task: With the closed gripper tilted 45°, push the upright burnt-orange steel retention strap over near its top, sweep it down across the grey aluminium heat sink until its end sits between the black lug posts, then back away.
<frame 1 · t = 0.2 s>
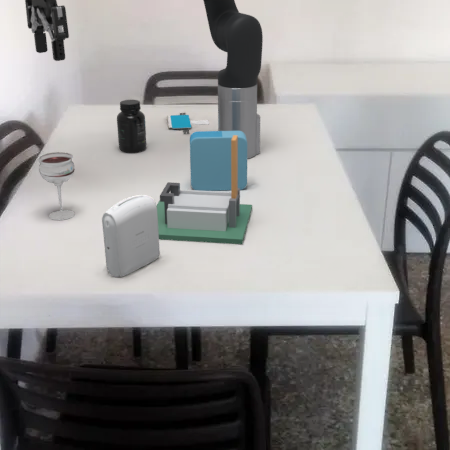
hand: (50, 56, 143), 29 cm above the table, tool pointing down, fingers open, 8 cm apart
wineglass: (62, 215, 144), on the table
blue rounded block: (218, 187, 157), on the table
processor board: (198, 223, 140), on the table
supplement bottle: (132, 150, 180), on the table
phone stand: (187, 126, 200), on the table
retention strap: (234, 170, 134), point 11 cm above the table, hinge at 0.0°
photo printer: (133, 266, 125), on the table
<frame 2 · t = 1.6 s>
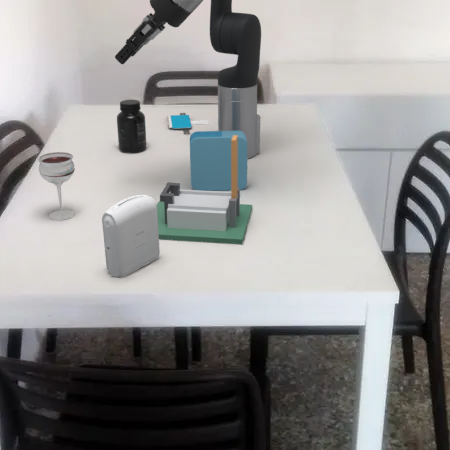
hand: (123, 56, 144), 28 cm above the table, tool tilted 45°, fingers open, 6 cm apart
nothing on the table moved.
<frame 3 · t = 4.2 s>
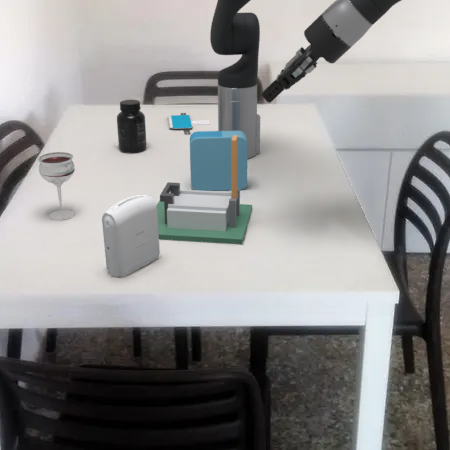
hand: (265, 98, 129), 25 cm above the table, tool tilted 45°, fingers closed
nothing on the table moved.
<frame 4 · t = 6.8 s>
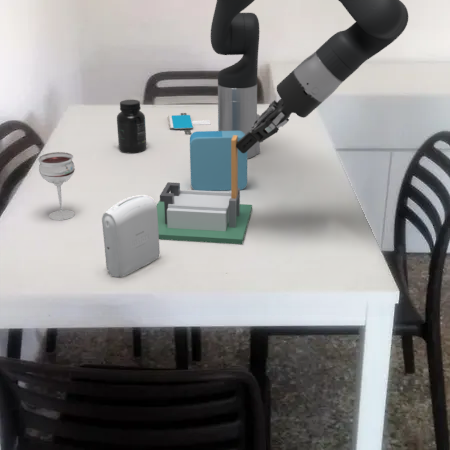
hand: (239, 148, 133), 15 cm above the table, tool tilted 45°, fingers closed
retention strap: (234, 170, 134), point 11 cm above the table, hinge at 0.0°, touching gripper
everything else where it was.
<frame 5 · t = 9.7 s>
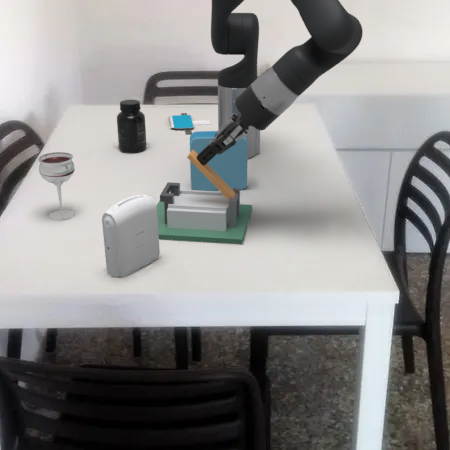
hand: (200, 160, 135), 13 cm above the table, tool tilted 45°, fingers closed
retention strap: (213, 177, 136), point 10 cm above the table, hinge at 43.8°, touching gripper
everything else where it was.
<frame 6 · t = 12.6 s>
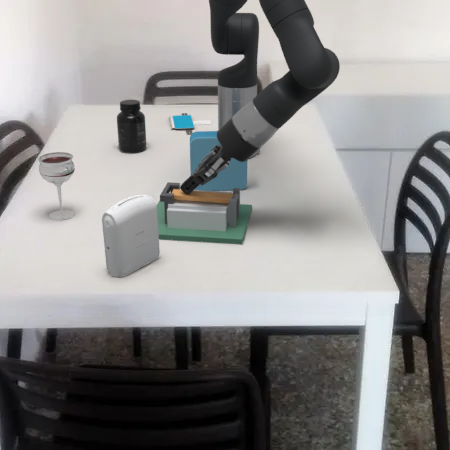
hand: (184, 190, 138), 7 cm above the table, tool tilted 45°, fingers closed
retention strap: (204, 196, 137), point 6 cm above the table, hinge at 88.4°, touching gripper
everything else where it was.
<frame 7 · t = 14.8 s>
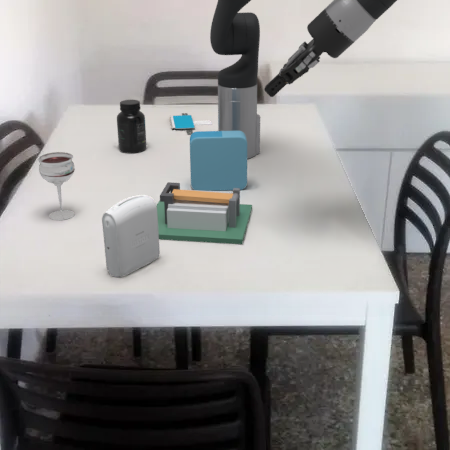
hand: (268, 92, 129), 26 cm above the table, tool tilted 45°, fingers closed
retention strap: (204, 196, 137), point 6 cm above the table, hinge at 88.4°
everything else where it was.
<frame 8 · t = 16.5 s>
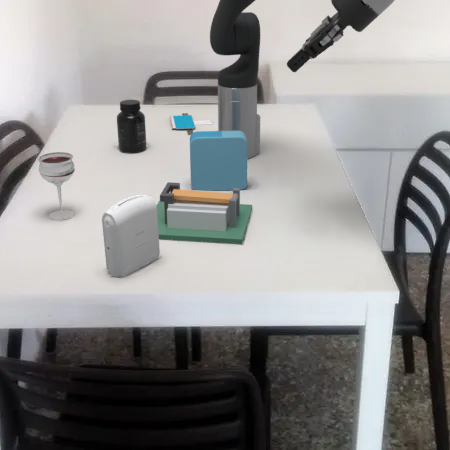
hand: (290, 68, 128), 30 cm above the table, tool tilted 45°, fingers closed
nothing on the table moved.
at the end: retention strap at +88° (first picture: +0°) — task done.
